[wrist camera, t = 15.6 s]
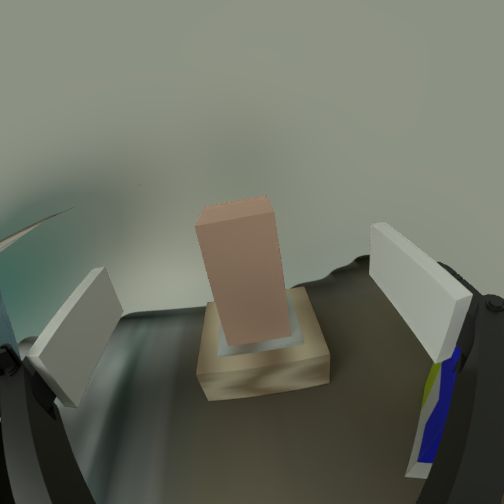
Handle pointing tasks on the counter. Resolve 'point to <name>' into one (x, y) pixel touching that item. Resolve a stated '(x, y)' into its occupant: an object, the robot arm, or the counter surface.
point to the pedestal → (264, 356)
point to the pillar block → (245, 269)
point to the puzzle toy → (432, 416)
